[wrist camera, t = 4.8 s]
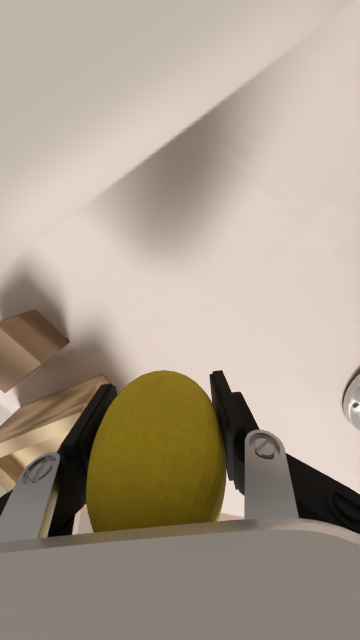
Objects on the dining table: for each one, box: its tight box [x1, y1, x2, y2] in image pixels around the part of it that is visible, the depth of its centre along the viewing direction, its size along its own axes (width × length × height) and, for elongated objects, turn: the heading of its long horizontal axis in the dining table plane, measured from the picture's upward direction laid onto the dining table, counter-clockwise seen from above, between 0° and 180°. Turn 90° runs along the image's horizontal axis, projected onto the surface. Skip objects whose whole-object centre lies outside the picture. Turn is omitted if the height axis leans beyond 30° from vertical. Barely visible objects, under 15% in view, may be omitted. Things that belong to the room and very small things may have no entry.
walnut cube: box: [0, 310, 69, 393], centre depth 19 cm, size 5×5×5 cm
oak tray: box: [0, 374, 110, 512], centre depth 22 cm, size 12×12×6 cm
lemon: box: [86, 370, 226, 533], centre depth 8 cm, size 6×6×8 cm
